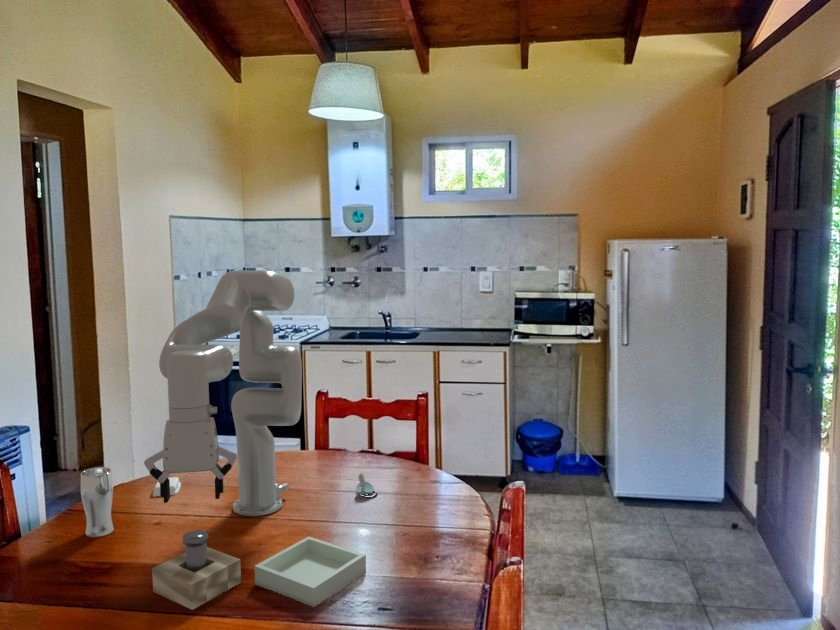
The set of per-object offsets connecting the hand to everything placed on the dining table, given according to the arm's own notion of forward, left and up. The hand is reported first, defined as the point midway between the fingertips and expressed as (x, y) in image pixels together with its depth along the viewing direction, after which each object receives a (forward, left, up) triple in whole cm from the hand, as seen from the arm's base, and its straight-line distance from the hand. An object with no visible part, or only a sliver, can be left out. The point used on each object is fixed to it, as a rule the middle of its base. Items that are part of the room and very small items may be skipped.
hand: (192, 498), depth 133 cm
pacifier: (-58, -2, -19) cm, 61 cm away
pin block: (0, 0, -19) cm, 19 cm away
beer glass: (-4, -41, -19) cm, 46 cm away
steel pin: (0, 0, -19) cm, 19 cm away
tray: (-15, +17, -19) cm, 30 cm away
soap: (-30, -51, -19) cm, 62 cm away
